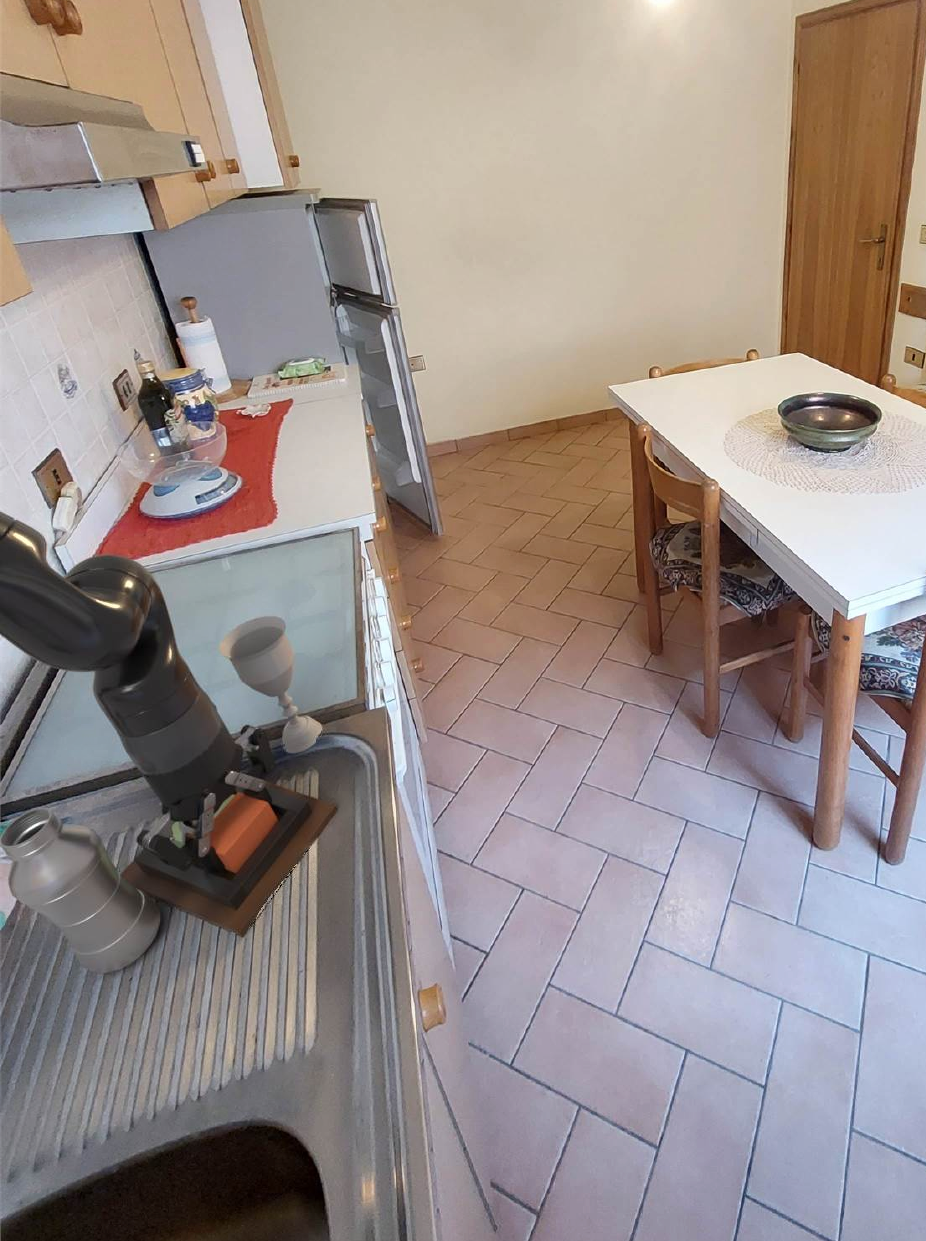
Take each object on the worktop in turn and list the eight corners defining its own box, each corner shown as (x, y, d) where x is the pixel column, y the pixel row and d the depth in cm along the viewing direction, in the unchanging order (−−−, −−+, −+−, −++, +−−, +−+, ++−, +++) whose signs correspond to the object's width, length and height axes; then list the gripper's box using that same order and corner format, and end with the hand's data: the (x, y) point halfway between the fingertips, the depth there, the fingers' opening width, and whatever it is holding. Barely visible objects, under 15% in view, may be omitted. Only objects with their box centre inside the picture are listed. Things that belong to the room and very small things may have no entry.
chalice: (332, 707, 92) (288, 609, 83) (329, 747, 86) (282, 646, 77) (275, 725, 90) (224, 626, 81) (269, 767, 84) (213, 666, 76)
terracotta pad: (236, 874, 71) (223, 855, 69) (205, 861, 72) (192, 842, 71) (279, 821, 76) (268, 802, 74) (249, 810, 77) (237, 791, 75)
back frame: (120, 883, 73) (107, 868, 72) (225, 771, 84) (215, 756, 83) (242, 938, 67) (231, 922, 66) (338, 809, 78) (330, 794, 77)
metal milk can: (169, 950, 67) (71, 832, 57) (89, 999, 64) (-30, 883, 54) (166, 895, 71) (75, 777, 62) (91, 938, 68) (-18, 821, 59)
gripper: (211, 674, 73) (265, 772, 81) (79, 793, 61) (158, 894, 69) (263, 688, 70) (313, 788, 78) (136, 815, 58) (211, 917, 67)
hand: (240, 837), depth 74 cm, fingers closed on terracotta pad, 6 cm apart
